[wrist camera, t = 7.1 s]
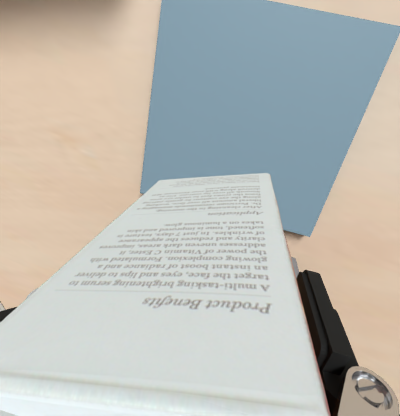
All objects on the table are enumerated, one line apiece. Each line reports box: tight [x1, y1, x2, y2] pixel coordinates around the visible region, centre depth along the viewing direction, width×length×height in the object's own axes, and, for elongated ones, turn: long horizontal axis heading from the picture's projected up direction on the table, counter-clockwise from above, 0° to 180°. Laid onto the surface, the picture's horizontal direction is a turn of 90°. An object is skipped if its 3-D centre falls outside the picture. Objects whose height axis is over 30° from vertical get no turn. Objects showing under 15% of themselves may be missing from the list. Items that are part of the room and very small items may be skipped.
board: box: [140, 0, 400, 237], centre depth 27 cm, size 20×20×2 cm
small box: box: [0, 173, 331, 416], centre depth 9 cm, size 8×6×10 cm
